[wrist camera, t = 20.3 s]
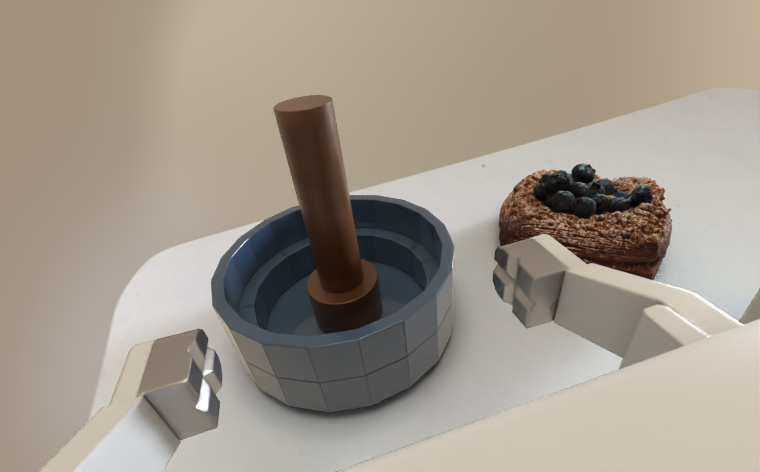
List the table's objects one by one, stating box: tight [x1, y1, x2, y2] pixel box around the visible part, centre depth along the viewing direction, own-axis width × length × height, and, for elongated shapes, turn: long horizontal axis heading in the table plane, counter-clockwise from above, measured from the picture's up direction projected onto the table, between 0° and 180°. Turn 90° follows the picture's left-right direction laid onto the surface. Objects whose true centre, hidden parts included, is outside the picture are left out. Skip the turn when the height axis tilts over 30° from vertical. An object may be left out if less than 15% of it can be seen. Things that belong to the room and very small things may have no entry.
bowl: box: [211, 195, 454, 412], centre depth 24 cm, size 14×14×6 cm
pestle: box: [274, 95, 382, 334], centre depth 21 cm, size 5×5×14 cm
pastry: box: [499, 164, 672, 280], centre depth 28 cm, size 11×12×6 cm
